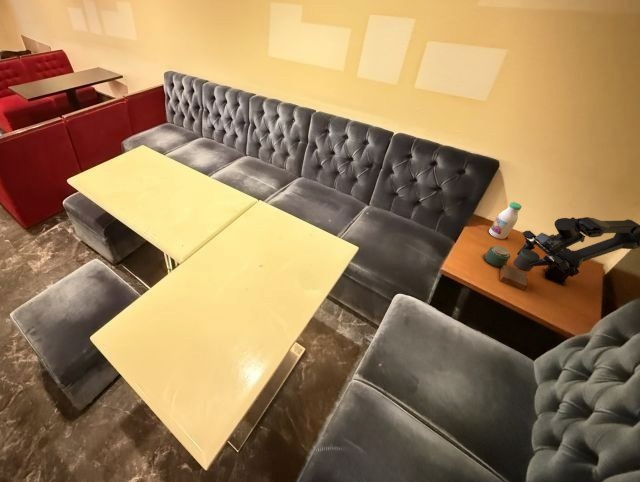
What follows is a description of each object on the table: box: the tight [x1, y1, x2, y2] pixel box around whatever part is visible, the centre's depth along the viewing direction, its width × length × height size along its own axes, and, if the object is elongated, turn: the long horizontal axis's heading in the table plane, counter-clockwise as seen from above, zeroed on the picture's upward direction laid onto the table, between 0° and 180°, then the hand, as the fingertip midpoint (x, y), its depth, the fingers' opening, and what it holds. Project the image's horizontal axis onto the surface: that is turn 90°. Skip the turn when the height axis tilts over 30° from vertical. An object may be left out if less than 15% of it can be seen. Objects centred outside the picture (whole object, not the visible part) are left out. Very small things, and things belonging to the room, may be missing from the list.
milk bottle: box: [488, 201, 522, 240], centre depth 160 cm, size 8×8×20 cm
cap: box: [512, 249, 541, 273], centre depth 134 cm, size 6×6×8 cm
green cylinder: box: [483, 245, 511, 269], centre depth 148 cm, size 8×8×8 cm
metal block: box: [499, 264, 528, 291], centre depth 140 cm, size 8×8×3 cm
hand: (523, 259), depth 134 cm, fingers closed on cap, 6 cm apart
